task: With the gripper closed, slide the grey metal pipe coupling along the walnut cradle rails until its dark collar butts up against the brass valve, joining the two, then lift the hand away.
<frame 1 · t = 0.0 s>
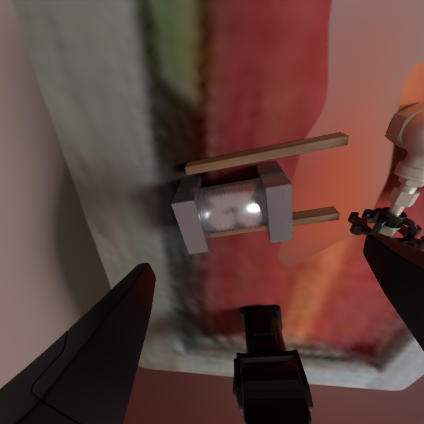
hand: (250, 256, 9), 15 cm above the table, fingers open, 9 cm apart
valve: (386, 165, 22), on the table
coupling: (232, 193, 24), on the table
cradle rails: (263, 188, 23), on the table
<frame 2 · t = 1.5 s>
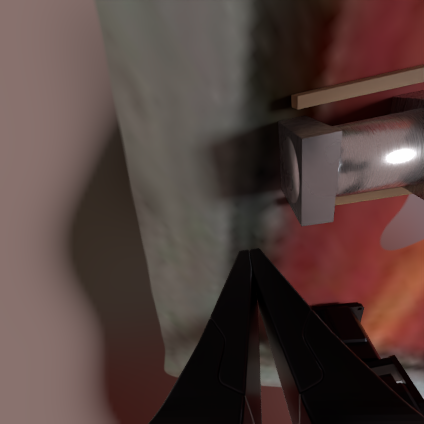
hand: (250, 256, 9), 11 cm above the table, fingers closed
coupling: (343, 145, 17), on the table
cradle rails: (392, 136, 16), on the table
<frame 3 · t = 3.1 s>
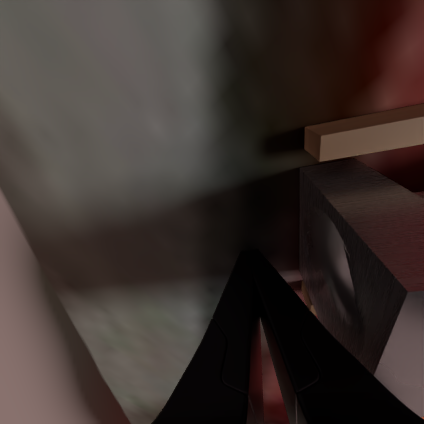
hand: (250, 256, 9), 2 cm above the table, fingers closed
coupling: (420, 210, 9), on the table, touching gripper
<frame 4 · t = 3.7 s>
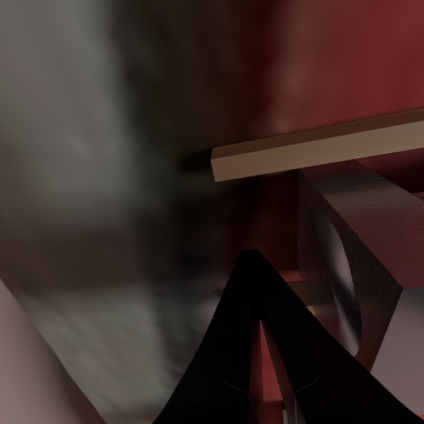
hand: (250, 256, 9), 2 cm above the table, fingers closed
coupling: (418, 211, 9), on the table, touching gripper
cradle rails: (398, 217, 9), on the table
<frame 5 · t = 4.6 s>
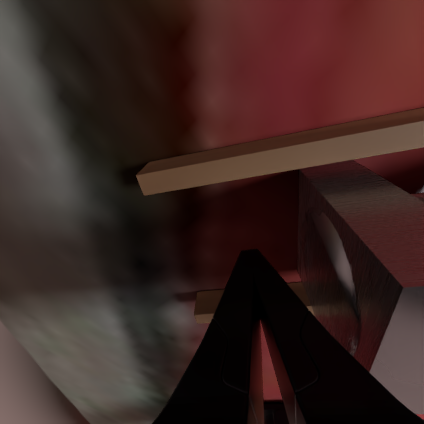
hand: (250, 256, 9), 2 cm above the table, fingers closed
coupling: (417, 212, 9), on the table, touching gripper
cradle rails: (334, 225, 10), on the table
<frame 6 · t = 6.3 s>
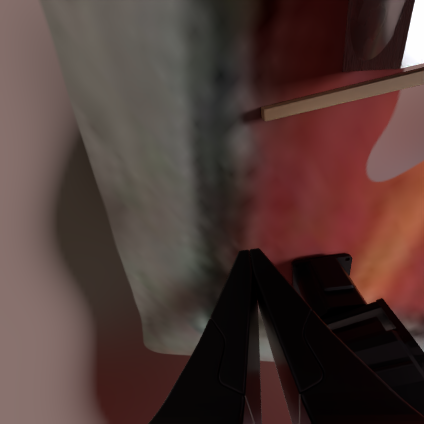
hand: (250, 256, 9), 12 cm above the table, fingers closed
cradle rails: (373, 14, 13), on the table
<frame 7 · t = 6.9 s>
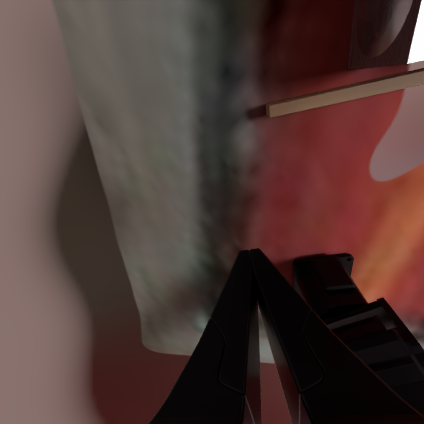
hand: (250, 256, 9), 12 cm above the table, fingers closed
cradle rails: (379, 13, 13), on the table
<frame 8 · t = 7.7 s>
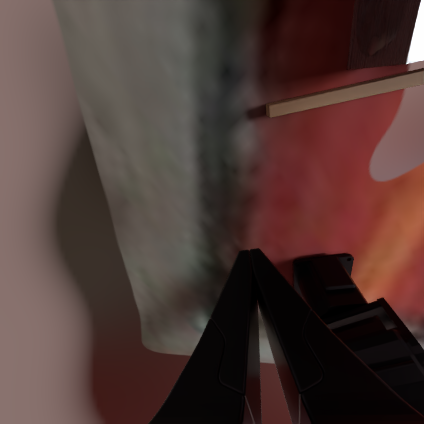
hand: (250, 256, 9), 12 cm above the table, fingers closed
cradle rails: (379, 13, 13), on the table
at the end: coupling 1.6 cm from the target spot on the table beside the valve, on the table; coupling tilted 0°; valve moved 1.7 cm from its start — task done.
